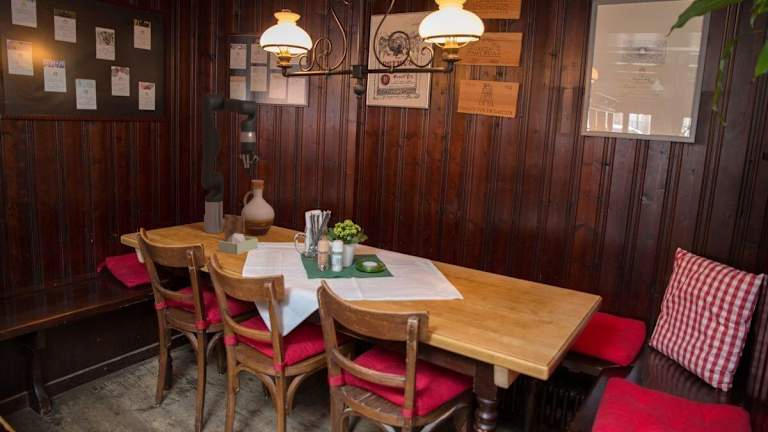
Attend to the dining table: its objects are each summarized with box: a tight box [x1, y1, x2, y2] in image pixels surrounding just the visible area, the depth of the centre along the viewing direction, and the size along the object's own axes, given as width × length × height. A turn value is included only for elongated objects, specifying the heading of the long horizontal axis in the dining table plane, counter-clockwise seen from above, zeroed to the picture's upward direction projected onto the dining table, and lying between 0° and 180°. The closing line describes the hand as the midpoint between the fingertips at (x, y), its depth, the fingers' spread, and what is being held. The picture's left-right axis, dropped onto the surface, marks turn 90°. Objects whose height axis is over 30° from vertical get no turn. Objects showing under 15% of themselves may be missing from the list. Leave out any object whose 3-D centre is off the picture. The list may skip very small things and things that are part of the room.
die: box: [228, 233, 246, 243], centre depth 282 cm, size 8×9×10 cm
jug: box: [240, 179, 275, 237], centre depth 315 cm, size 20×18×30 cm
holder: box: [217, 235, 259, 255], centre depth 281 cm, size 12×15×5 cm
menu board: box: [222, 213, 246, 242], centre depth 295 cm, size 12×5×14 cm, turn 65°
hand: (248, 175), depth 291 cm, fingers closed
